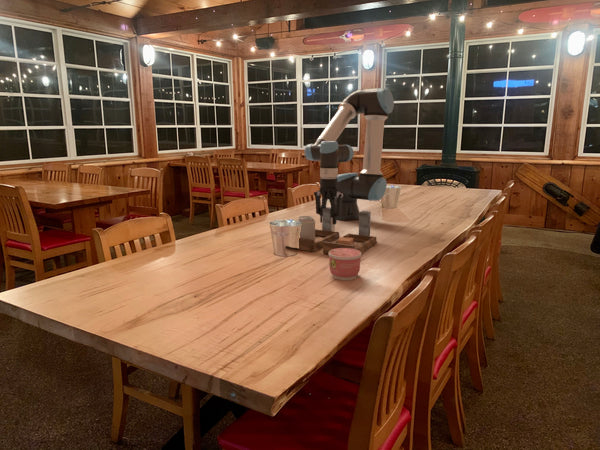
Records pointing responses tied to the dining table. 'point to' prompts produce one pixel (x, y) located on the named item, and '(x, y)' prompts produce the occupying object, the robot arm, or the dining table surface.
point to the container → (344, 263)
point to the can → (307, 227)
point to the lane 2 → (355, 236)
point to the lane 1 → (320, 233)
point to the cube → (346, 240)
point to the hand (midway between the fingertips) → (328, 230)
